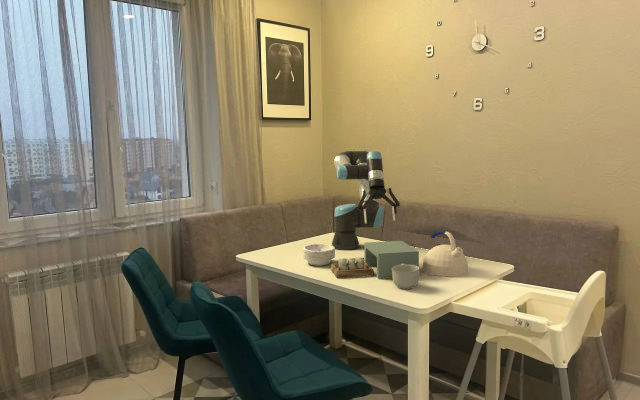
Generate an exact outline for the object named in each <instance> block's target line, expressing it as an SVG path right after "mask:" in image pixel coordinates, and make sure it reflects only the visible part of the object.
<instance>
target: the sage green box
mask: <svg viewBox="0 0 640 400" xmlns="http://www.w3.org/2000/svg"><path fill="white" fill-rule="evenodd" d="M419 255H420V251H419V250H417V249H416V248H415V247H413V246H410V244H408V243H406V242H405V241H403V240H390V241H389V240H387V241H385V240H384V241H368V242H367V241H366V242H364V262H366V263H367V264H368V265H369V266H370V267H376V278H377V279H378V280H385V279H393V276H392V268H393V267H394V266H397V265H401V264H406V265H415V266H418V267H419V268H420V256H419Z"/></svg>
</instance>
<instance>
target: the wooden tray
mask: <svg viewBox="0 0 640 400" xmlns="http://www.w3.org/2000/svg"><path fill="white" fill-rule="evenodd" d="M330 272H331V273H332V274H333V275H334V277H336V279H347V278H362V277H373V276H374V268H372V266H369V265H368V264H367V263H366V262H365V257H362V256H360V257H359V256H358V257H356V258H355V257H347V258H342V257H341V258H339V259H338V263H331V264H330Z"/></svg>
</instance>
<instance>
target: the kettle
mask: <svg viewBox="0 0 640 400" xmlns="http://www.w3.org/2000/svg"><path fill="white" fill-rule="evenodd" d="M441 234H442V235H443V234H444V235H446V236H447V237H448V239H449V241H450V244H440V243H436V246H434V247H432V248H430V249H429V250H428V251H427V253H426V254H425V255H424V258H423V261H422V269H421V270H422V271H423V273H426V274H428V275H430V276H431V275H432V276H437V277H444V278H445V277H447V278H452V277H453V278H454V277H456V278H457V277H461V276H466V275H467V274H468V273H469V261H468V260H467V259H468V258H467V257H466V255H465V254H464V249H463V248H462V247H460V246H457V247H456V240H455V237H454V236H453V234H452V233H451V232H449V231H447V230H439V231H435V232H433V234H432V235H431V236H430V238H432V239H435V238H436V237H437V236H439V235H441Z"/></svg>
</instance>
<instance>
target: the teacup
mask: <svg viewBox="0 0 640 400" xmlns="http://www.w3.org/2000/svg"><path fill="white" fill-rule="evenodd" d="M392 276H393V278H392V281H393V284H394V285H395V286H397V288H398V289H401V290H409V289H410V290H411V289H414V288H416V286H417V285H418V284H419V283H420V282H419V281H420V266H419V267H418V266H415V265H406V264H401V265H397V266H394V267H393V268H392Z"/></svg>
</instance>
